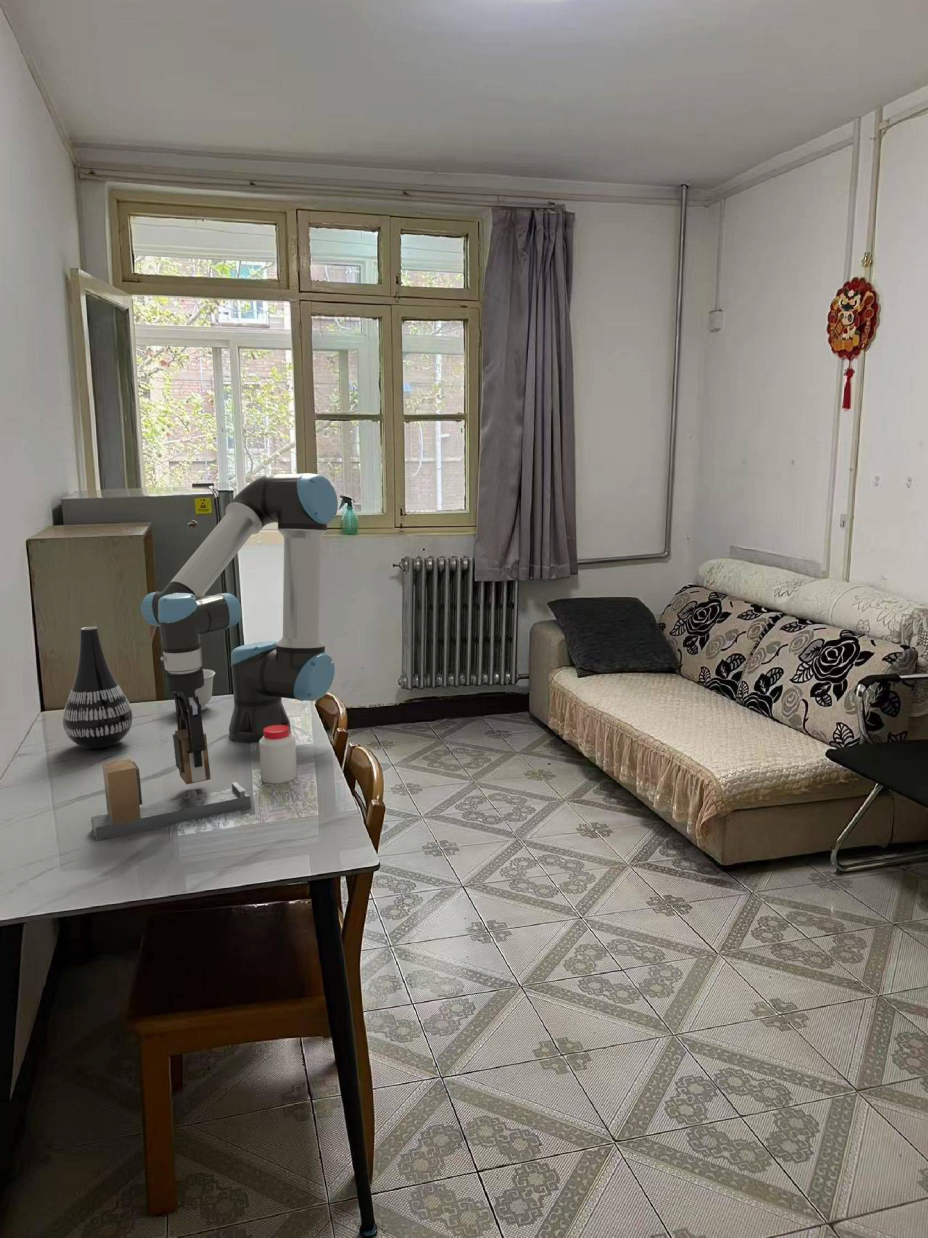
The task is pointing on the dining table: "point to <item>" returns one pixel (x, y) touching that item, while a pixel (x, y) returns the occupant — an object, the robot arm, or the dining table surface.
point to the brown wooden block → (187, 756)
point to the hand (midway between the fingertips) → (194, 775)
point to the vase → (95, 699)
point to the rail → (133, 818)
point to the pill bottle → (277, 755)
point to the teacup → (205, 688)
